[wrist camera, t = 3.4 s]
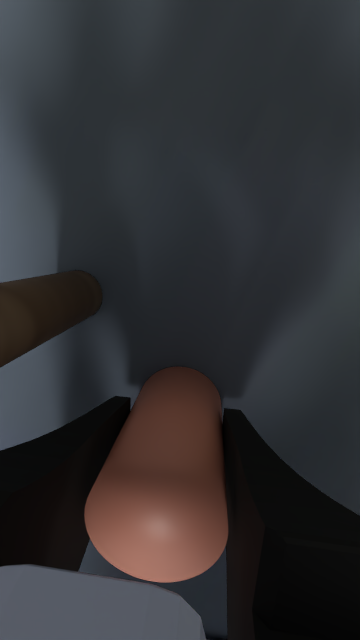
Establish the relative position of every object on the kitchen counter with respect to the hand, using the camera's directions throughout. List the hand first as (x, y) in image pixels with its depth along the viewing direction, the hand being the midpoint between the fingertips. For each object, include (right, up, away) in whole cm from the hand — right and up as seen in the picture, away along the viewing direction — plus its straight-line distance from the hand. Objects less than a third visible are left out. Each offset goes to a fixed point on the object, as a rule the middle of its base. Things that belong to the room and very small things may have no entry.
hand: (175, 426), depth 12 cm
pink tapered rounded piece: (0, 0, +2) cm, 2 cm away
